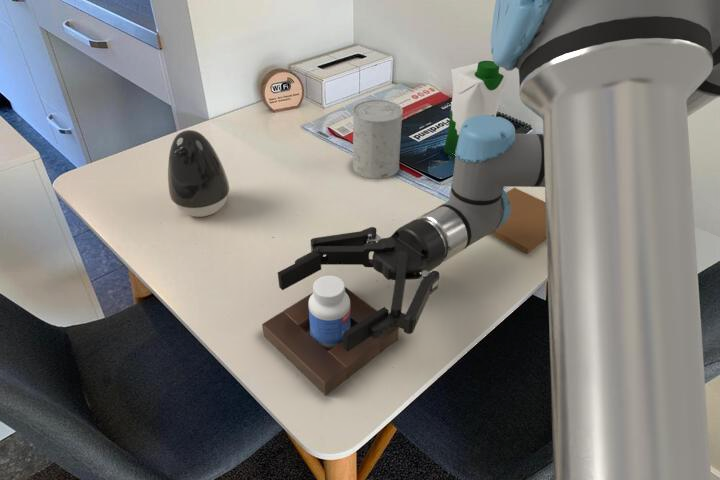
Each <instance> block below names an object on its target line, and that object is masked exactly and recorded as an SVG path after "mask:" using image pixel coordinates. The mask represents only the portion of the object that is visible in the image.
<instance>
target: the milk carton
mask: <svg viewBox="0 0 720 480" xmlns="http://www.w3.org/2000/svg"><path fill="white" fill-rule="evenodd" d="M450 71H451V82H452V95H451V96H452V98H451V106H450V114H449V120H448V121H449V122H448V129H447V135H446V138H445V143H444V147H445V148H446V149H447V150H446V149H445V148H444V147H443V152H444V153H445V154H446V155H448V156H450V157H451V158H452V159H454V160H455V155H454V154H455V149H456V147H457V143H458V137H459V133H460V129H461V126H462V124H463V123H464V122H465V121H466V120H468V119H469V118H471V117H474V116H478V115H492V116H494V117H497V115H498V109H499V103H500V98H501V94H502V92H503V89H504V86H505V84H506V82H507V80H508V77H509V74H508V73H506V72H503V71H502V70H500V67H499V66H497V65H496V64H495V63H494V62H493V60H481V61H479V62H476V63H472V64H468V65H464V66H460V67H456V68H452V69H451V70H450ZM448 150H449V151H451V152H452V153H453V154H452V153H451V152H449V151H448Z"/></svg>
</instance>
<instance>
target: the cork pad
mask: <svg viewBox="0 0 720 480" xmlns="http://www.w3.org/2000/svg"><path fill="white" fill-rule="evenodd" d="M506 194H507V195H508V197H509V203H510V206H511V213H510V216H509V218H508V220H507V221H506V222H505V223H504V224H503V225H501V226H500V227H499V228H498V229H496V231H494V232H493V233H492V234H491V235H492V236H494V237H496V238H497V239H500V240H501V241H504V242H505V243H506V244H509V245H511V246H513V247H514V248H517V249H518V250H520V251H521V252H524V253H526V254H529V253H530V252H532V251H533V250H534V249H535V248H537V247H538V246H539V245H541V243H543V242H544V241H545V240H547V234H546V201H544V200H542V199H540V198H537V197H535V196H533V195H532V194H529V193H526V192H525V191H522V190H521V189H518V188H517V187H513V188H512V189H510V190H508V191H506Z"/></svg>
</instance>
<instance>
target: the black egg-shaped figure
mask: <svg viewBox="0 0 720 480" xmlns="http://www.w3.org/2000/svg"><path fill="white" fill-rule="evenodd" d="M167 186H168V193H169V197H170V199H171V201H172V202H173V203H174V204H175V206H176V207H177V208H178V209H179V210H180V211H181V212H182V213H184V214H186V215H189V216H190V217H191V216H192V217H197V218H201V217H208V216H211V215H213V214H216V213H217V212H219V211H220V210H221V209H222V208H223V207H224V206H225V203H227V200H228V196H229V193H230V181H229V179H228V176H227V173H226V170H225V168H224V165H223V163H222V161H221V159H220V157H219V155H218V153H217V151H216V150H215V148H214V147H213V145H212V143H210V141H209V140H208V139H207V138H206V137H205V136H204V135H203V134H202V133H201V132H199V131H197V130H193V129H186V130H182V131H180V132H179V133H177V134H176V136H175V137H174V138H173V140H172V143H171V146H170V149H169V154H168V163H167Z"/></svg>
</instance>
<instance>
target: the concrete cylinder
mask: <svg viewBox="0 0 720 480" xmlns="http://www.w3.org/2000/svg"><path fill="white" fill-rule="evenodd" d="M403 112H404V110H403V107H402V106H401V105H399V104H398V103H397V102H393V101H391V100H386V99H367V100H363V101H361V102H358V103H356V104H355V105H354V106H353V108H352V169H353V171H354V172H355V173H356V174H357V175H359V176H361V177H363V178H367V179H373V180H382V179H386V178H387V179H388V178H390V177H393V176H395V175H396V174H397V173H398V172H399V170H400V154H401V153H400V152H401V138H402V125H403V124H402V123H403Z"/></svg>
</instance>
